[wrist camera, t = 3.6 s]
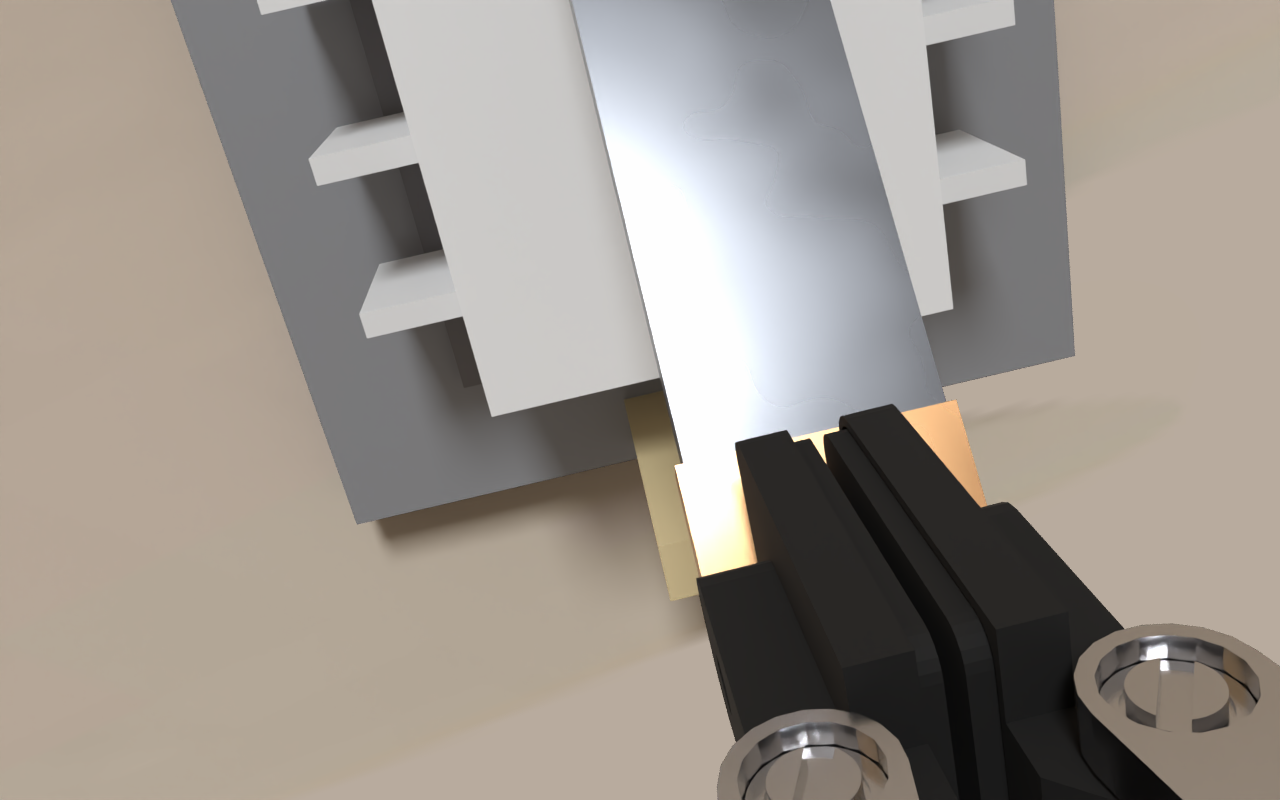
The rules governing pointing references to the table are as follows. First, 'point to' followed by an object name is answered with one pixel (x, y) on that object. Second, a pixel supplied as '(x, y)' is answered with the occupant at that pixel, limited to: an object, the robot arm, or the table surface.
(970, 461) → the grey flat bar
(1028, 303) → the heatsink board
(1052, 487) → the table surface
